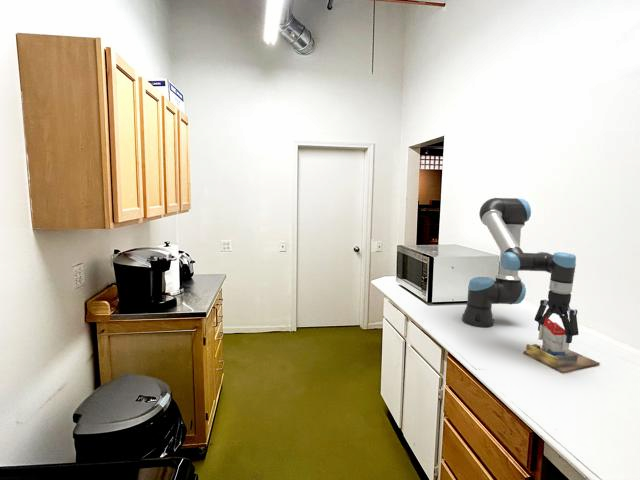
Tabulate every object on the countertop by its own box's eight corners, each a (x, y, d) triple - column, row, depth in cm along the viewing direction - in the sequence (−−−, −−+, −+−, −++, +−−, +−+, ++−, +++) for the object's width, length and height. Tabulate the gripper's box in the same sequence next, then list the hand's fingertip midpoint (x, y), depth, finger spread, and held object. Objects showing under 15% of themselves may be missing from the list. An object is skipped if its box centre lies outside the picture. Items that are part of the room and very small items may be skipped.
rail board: (523, 353, 150) (524, 343, 149) (558, 347, 157) (559, 337, 157) (562, 373, 134) (564, 362, 134) (599, 365, 142) (601, 354, 141)
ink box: (565, 358, 141) (568, 324, 138) (552, 358, 142) (555, 324, 139) (553, 347, 150) (556, 315, 146) (541, 347, 150) (544, 315, 147)
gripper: (528, 284, 150) (522, 334, 154) (582, 300, 130) (573, 358, 133) (541, 283, 153) (535, 332, 156) (595, 299, 132) (587, 355, 136)
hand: (552, 344), depth 145 cm, fingers closed on ink box, 9 cm apart
